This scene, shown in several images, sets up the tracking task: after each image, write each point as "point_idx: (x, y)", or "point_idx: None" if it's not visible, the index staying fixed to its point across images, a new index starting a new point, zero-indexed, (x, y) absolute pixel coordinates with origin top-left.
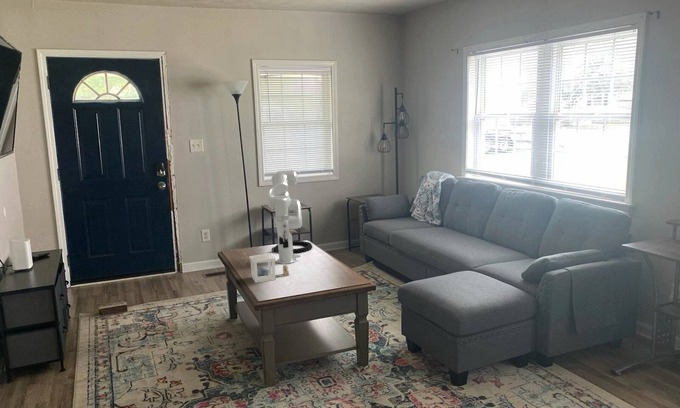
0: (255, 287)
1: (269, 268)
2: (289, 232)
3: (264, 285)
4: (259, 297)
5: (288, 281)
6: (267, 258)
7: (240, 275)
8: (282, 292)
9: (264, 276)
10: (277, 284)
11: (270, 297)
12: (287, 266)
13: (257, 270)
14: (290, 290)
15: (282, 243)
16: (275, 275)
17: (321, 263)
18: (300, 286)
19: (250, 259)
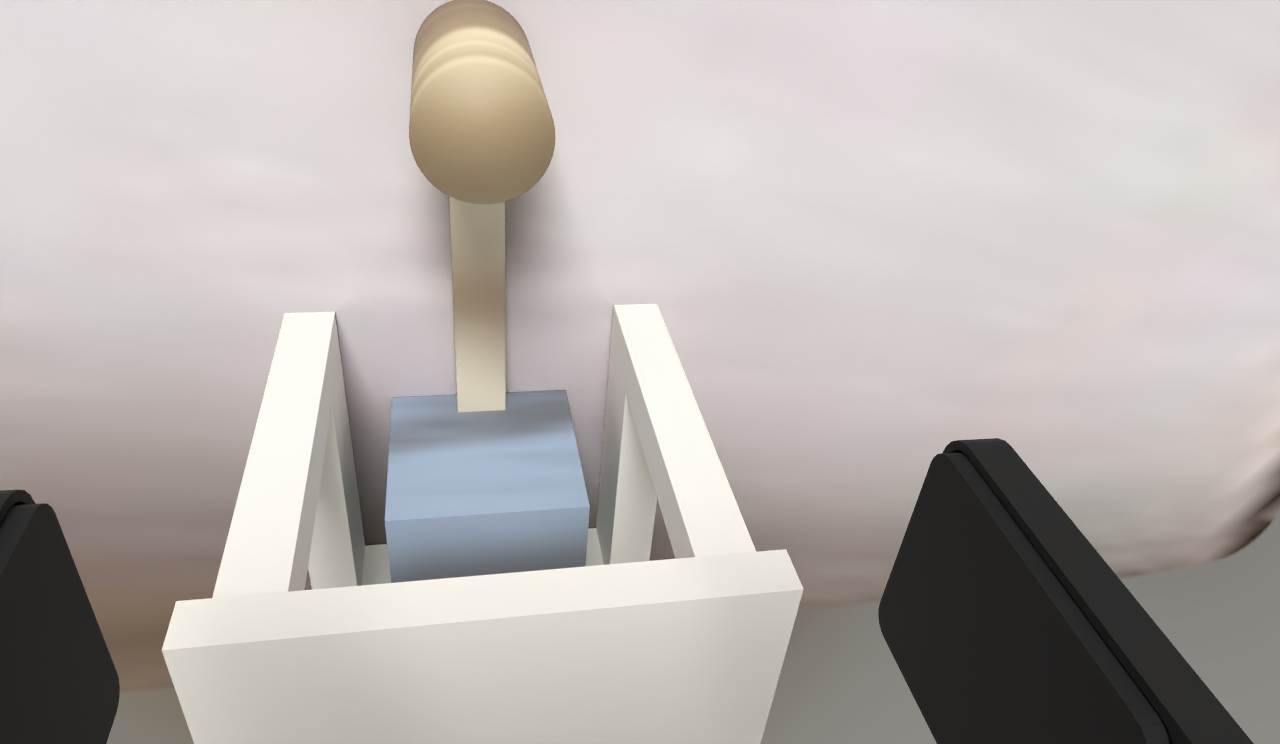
0: (807, 562)
1: (324, 423)
2: None
3: (807, 472)
4: (1139, 551)
5: (876, 130)
6: (680, 714)
7: (156, 684)
8: (1225, 328)
9: (649, 503)
10: (890, 321)
11: (1236, 466)
12: (541, 96)
13: None
14: (1258, 219)
15: (67, 620)
16: (495, 288)
17: None
18: (1256, 21)
19: None
